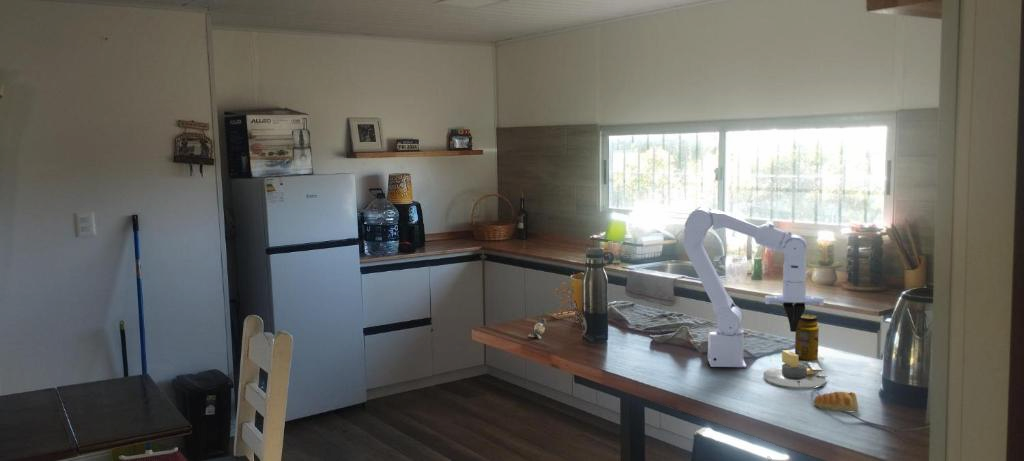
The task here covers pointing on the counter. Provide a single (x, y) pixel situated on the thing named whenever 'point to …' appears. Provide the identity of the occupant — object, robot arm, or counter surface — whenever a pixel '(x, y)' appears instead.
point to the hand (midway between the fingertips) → (793, 330)
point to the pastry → (837, 401)
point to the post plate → (807, 382)
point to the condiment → (807, 339)
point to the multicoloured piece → (794, 366)
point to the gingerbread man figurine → (567, 314)
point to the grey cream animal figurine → (539, 328)
